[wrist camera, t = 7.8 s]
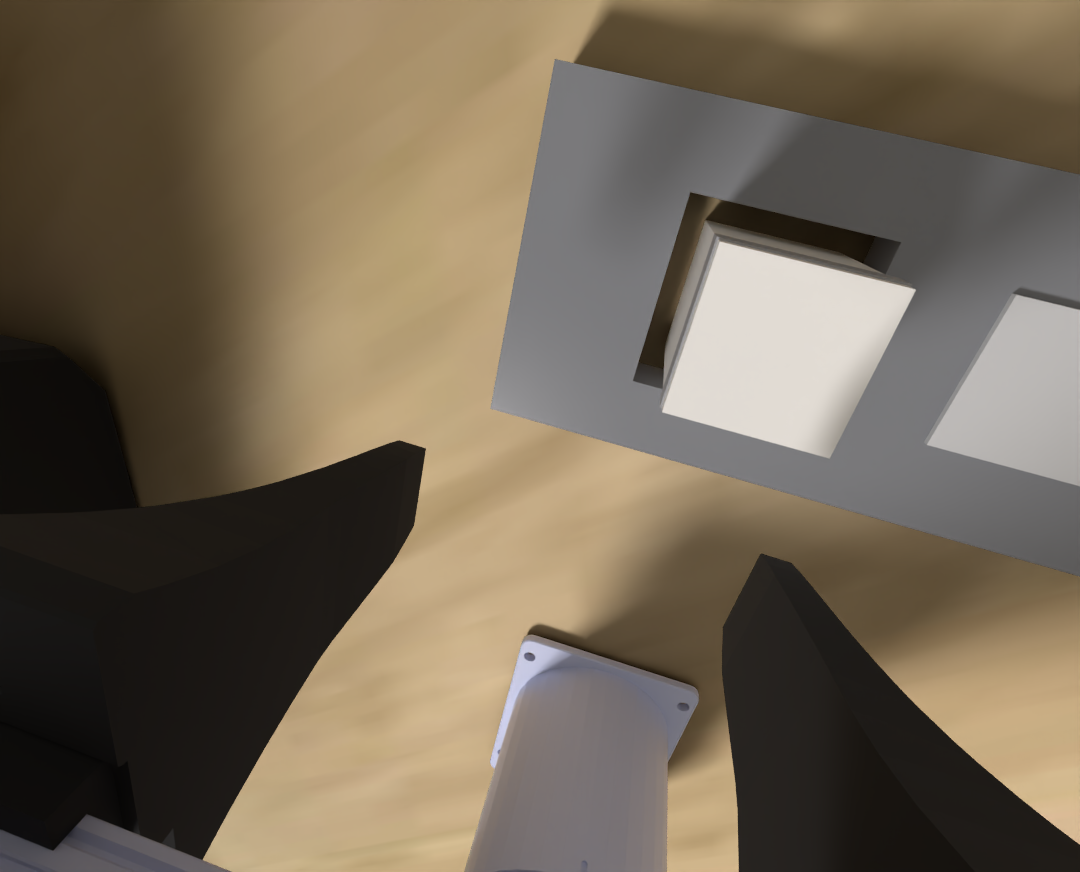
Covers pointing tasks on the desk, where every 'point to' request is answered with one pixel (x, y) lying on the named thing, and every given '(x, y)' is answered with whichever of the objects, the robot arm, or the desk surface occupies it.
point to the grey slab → (898, 250)
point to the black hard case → (56, 436)
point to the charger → (777, 337)
